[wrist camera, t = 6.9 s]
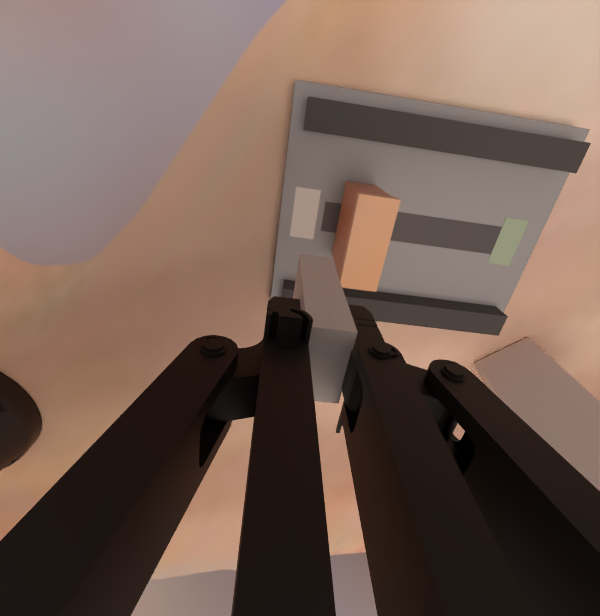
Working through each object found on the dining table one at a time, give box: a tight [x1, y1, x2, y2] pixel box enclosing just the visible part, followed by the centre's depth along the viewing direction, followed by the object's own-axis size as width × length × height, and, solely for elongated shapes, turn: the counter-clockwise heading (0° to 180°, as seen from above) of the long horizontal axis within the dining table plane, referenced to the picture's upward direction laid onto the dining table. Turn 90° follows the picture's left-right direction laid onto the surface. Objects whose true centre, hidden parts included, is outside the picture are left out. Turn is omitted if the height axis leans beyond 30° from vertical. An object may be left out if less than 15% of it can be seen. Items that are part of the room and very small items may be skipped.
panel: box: [271, 80, 590, 313], centre depth 30 cm, size 22×18×2 cm
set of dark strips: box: [282, 96, 591, 335], centre depth 28 cm, size 20×16×2 cm
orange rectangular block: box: [332, 181, 401, 292], centre depth 25 cm, size 3×6×7 cm, turn 172°
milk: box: [475, 337, 600, 491], centre depth 28 cm, size 6×6×22 cm
